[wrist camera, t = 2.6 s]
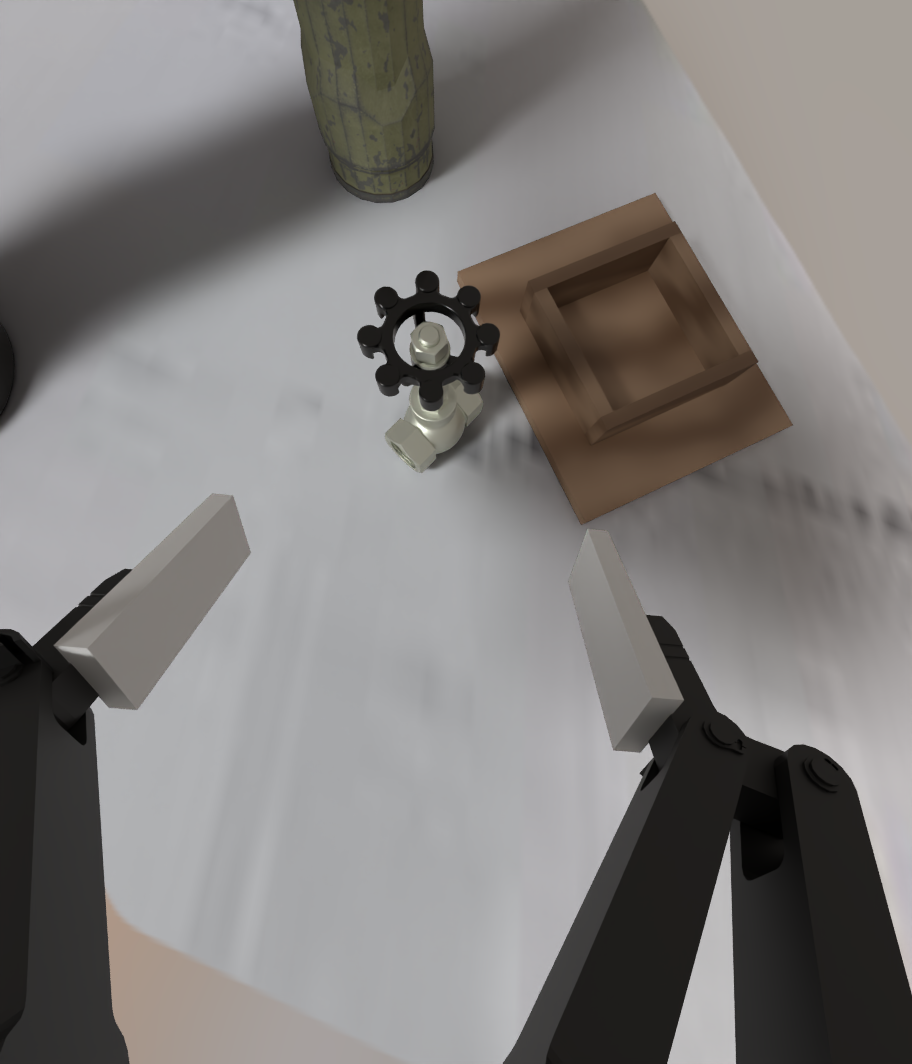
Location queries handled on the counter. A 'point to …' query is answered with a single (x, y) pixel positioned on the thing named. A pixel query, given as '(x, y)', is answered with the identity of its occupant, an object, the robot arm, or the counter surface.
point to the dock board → (623, 356)
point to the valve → (430, 367)
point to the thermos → (371, 92)
